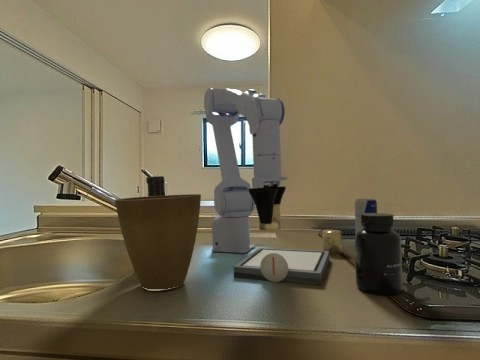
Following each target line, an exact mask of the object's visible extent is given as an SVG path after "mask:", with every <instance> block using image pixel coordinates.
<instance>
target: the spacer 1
mask: <svg viewBox="0 0 480 360" xmlns="http://www.w3.org/2000/svg"><path fill="white" fill-rule="evenodd" d="M258 222H259V223H258V225H259V230H261V231H267V232H268V231H270V232H271V231H278V230H281V229H282V228H281V226H282V225H281V224H282V223H281V203H280V204H274V206H273V217H272V222H271V224H261V223H260V220H259V219H258Z"/></svg>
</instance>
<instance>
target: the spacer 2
mask: <svg viewBox="0 0 480 360" xmlns="http://www.w3.org/2000/svg"><path fill="white" fill-rule="evenodd" d="M321 236H322V251H329V255H340V254H342V253H343V241H342V240H343V239H342V231H341V230H337V229H325V230H324V229H323V230H322V234H321Z"/></svg>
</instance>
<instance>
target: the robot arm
mask: <svg viewBox="0 0 480 360" xmlns="http://www.w3.org/2000/svg"><path fill="white" fill-rule="evenodd" d="M203 99H204V100H203V108H204V113H205V118H206V122H208V123H209V124H210V125H211V126H212V130H213V136H214V141H215V147H216V152H217V158H218V163H219V168H220V169H219V171H220V175H221V181H220V182H219V183H218V184H216V186H215V187H214V190H213V196H214V197H213V204H214V210H215V212H216V214H217V216H215V217H214V218H213V219H212V225H211V235H212V236H211V239H212V240H211V241H212V249H211V252H216V253H217V252H218V253H234V254H235V253H236V254H247V252H249V251H251V250H253V248H255V247H256V245H255V244H251V237H250V216H252V213H253V212H254V210H255V208H256V211H257V215H258V221H259V220H260V223H261V224H271V222H272V217H273V206H274V204H280V205H281V203H282V199H283V196H284V193H285V191H286V189H287V188H286V186H284V185H282V181H287V180H288V176H282V157H281V154H282V153H281V149H282V148H281V130H280V128H281V125H282V124H283V122H284V119H285V114H286V109H285V108H286V107H285V104H284V101H282V100H281V99H280V98H279V97H277V98H268V97H266V94H264V93H257V90H256V89H249V88H248V90H247V91H244V92H243V90H240V89H233V88H232V89H231V88H221V87H220V88H219V87H218V88H217V87H213V88H212V87H208V88H207V89H206V90H205V92H204V97H203ZM240 115H241V116H243V117H245V118H246V121H247V124H248V127H249V134H250V135H251V136H252V159H253V160H252V161H253V177H252V178H251V183H249V182H248V181H247V180H245V179H243V178H242V177H241V174H240V169H239V163H238V159H237V154H236V148H235V144H234V138H233V134H232V133H233V132H232V129H231V127H232V126H233V125H235V124H237V122H238V120H239V118H240Z"/></svg>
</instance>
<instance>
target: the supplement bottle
mask: <svg viewBox="0 0 480 360" xmlns="http://www.w3.org/2000/svg"><path fill="white" fill-rule="evenodd" d="M360 223H361V225H362V229H361V230H359V231H358V232H357V233H356V232H355V235H354V249H355V250H354V252H355V254H354V255H355V257H354V259H355V284H356V287H358V288H359V290H361V291H363V292H366V293H369V294H374V295H378V296H394V295H397V294H399V293H401V291H402V290H403V265H402V263H403V260H402V237H401V236H400V234H399V233H398V232H397V231H395V230H393V227H395V223H394V214H392V213H386V212H385V213H383V212H377V213H364V214H361V222H360Z"/></svg>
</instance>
